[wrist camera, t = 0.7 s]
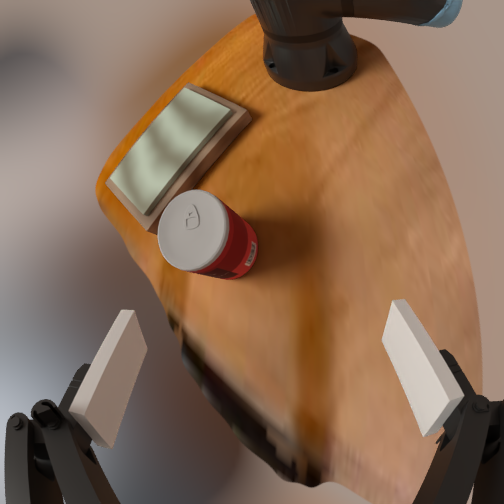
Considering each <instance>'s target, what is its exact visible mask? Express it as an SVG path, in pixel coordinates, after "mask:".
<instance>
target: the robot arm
mask: <svg viewBox="0 0 504 504" xmlns="http://www.w3.org/2000/svg"><path fill="white" fill-rule="evenodd" d="M250 1H251V4H252V6H253V8H254V10H255V13H256V15H257V17H258V20H259V22H260V24H261V27H262V29H263V32H264V45H263V61H264V64H265V67H266V69H267V72H268V74H269V75H270V77H271V78H272V79H273V80H274V81H275V82H277V83H278V84H280V85H282V86H284V87H287V88H290V89H294V90H300V91H318V90H325V89H329V88H332V87H335V86H337V85H339V84H341V83H343V82H345V81H346V80H347V79H349V78H350V77H351V76H352V75H353V73H354V72H355V70H356V67H357V50H356V46H355V44H354V42H353V40H352V38H351V37H350V35H349V33H348V32H347V30H346V28H345V26H344V24H343V21H342V17H355V18H369V19H379V20H387V21H395V22H401V23H407V24H413V25H417V26H431V27H438V28H441V27H445V26H448V25H449V24H451V23H452V22H453V21H454V20H455V18H456V17H457V16H458V14H459V11H460V9H461V6H462V1H463V0H250ZM382 342H383V344H384V347H385V349H386V351H387V353H388V355H389V357H390V360H391V362H392V364H393V366H394V368H395V371H396V373H397V375H398V377H399V380H400V382H401V384H402V387H403V389H404V391H405V394H406V396H407V398H408V401H409V403H410V406H411V408H412V410H413V413H414V415H415V418H416V420H417V423H418V425H419V428H420V431H421V433H422V436H423V437H425V436H428V435H431V434H434V433H437V432H438V431H439V429H440V428H441V427H442V426H443V427H444V429H445V431H444V433H443V434H442V435H441V436H440V437H439V439H438V440H437V441H436V444H438V442H439V441H440V443H439V446H438V448H437V451H436V453H435V456H434V458H433V461H432V463H431V466H430V468H429V470H428V472H427V475H426V477H425V479H424V481H423V483H422V486H421V488H420V490H419V492H418V494H417V496H416V498H415V500H414V502H413V503H412V504H466V503H467V501H468V498H469V495H470V493H471V490H472V487H473V484H474V488H473V496H472V502H471V504H504V400H503V401H493V402H490V401H489V400H488V399H487V398H486V397H484V396H482V395H476V393H475V392H474V390H473V388H472V386H471V385H470V383H469V381H468V379H467V378H466V376H465V374H464V373H463V371H462V369H461V368H460V366H459V365H458V363H457V361H456V360H455V358H454V357H453V355H452V354H450V353H449V352H448V351H447V350H446V349H444V350H440V351H438V349H437V347H436V346H435V344H434V343H433V341H432V339H431V338H430V336H429V335H428V333H427V331H426V330H425V328H424V327H423V325H422V324H421V322H420V321H419V319H418V318H417V316H416V315H415V313H414V312H413V310H412V309H411V307H410V306H409V304H408V303H407V302H406V300H405V299H401V300H392V304H391V308H390V312H389V315H388V319H387V323H386V326H385V330H384V333H383V337H382ZM146 351H147V347H146V344H145V341H144V338H143V335H142V333H141V329H140V326H139V324H138V320H137V317H136V314H135V311H134V310H121V312H120V313H119V315H118V317H117V318H116V320H115V322H114V324H113V325H112V327H111V329H110V331H109V333H108V334H107V336H106V338H105V340H104V342H103V343H102V345H101V347H100V349H99V351H98V353H97V355H96V357H95V358H94V360H93V362H92V364H84V365H82V366H81V367H80V368H79V369H78V370H77V372H76V373H75V375H74V377H73V381H71V383H70V385H69V387H68V389H67V391H66V393H65V395H64V397H63V399H62V401H61V403H60V405H59V407H57V406H56V405H55V403H54V402H53V401H51V400H48V399H44V400H40V401H39V402H37V403H36V404H35V405H34V406H33V408H32V411H31V417H32V418H33V419H34V420H29V419H28V417H27V416H26V415H25V414H23V413H15V414H13V415H12V416H10V418H9V420H8V422H7V427H6V440H5V496H6V504H64V503H63V497H64V500H65V502H66V504H120V502H119V500H118V498H117V497H116V495H115V493H114V491H113V489H112V488H111V486H110V484H109V482H108V480H107V478H106V476H105V474H104V472H103V470H102V468H101V466H100V464H99V462H98V460H97V458H96V455H95V453H94V451H93V449H92V447H91V446H90V444H91V441H92V440H93V441H94V442H95V443H96V444H97V445H98V446H101V447H105V448H110V449H112V448H113V446H114V442H115V439H116V436H117V433H118V430H119V427H120V424H121V421H122V418H123V415H124V412H125V409H126V406H127V403H128V400H129V398H130V395H131V392H132V389H133V386H134V384H135V381H136V378H137V375H138V373H139V370H140V367H141V364H142V362H143V359H144V356H145V354H146ZM62 495H63V496H62Z"/></svg>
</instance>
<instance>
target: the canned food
mask: <svg viewBox="0 0 504 504" xmlns="http://www.w3.org/2000/svg"><path fill="white" fill-rule="evenodd" d="M158 244H159V247H160V250H161V252H162V254H163V256H164V258H165V259H166V260H167V261H168V262H169V263H170V264H171V265H173V266H174V267H176V268H179V269H181V270H184V271H187V272H192V273H197V274H201V275H206V276H211V277H215V278H220V279H226V280H229V279H235V278H238V277H240V276H242V275H244V274H245V273H246V272H248V271H249V270H250V268H251V267H252V266H253V264H254V262H255V260H256V257H257V253H258V241H257V237H256V234H255V232H254V230H253V229H252V227H251V226H250V225H249V224H248V223H247V222H246V221H245V220H243V219H242V218H241V217H240V216H239V215H238V214H236V213H235V212H234V211H233V210H232V209H231V208H229V207H228V206H227V205H226V204H225V203H223V202H222V201H221V200H220V199H218V198H217V197H216V196H214V195H212V194H211V193H209V192H206V191H203V190H190V191H186V192H184V193H181V194H180V195H178V196H177V197H175V198H174V199H173V200H172V201H171V202H170V203H169V204H168V206H167V207H166V208H165V210H164V212H163V214H162V216H161V219H160V221H159V226H158Z"/></svg>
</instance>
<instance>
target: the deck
mask: <svg viewBox="0 0 504 504" xmlns="http://www.w3.org/2000/svg"><path fill="white" fill-rule="evenodd" d="M251 120H252V118H251V116H250V114H249V113H248V111H247V110H246V109H244V108H242V107H240V106H238V105H236V104H234V103H232V102H230V101H228V100H226V99H224V98H222V97H220V96H217V95H215V94H213V93H211V92H209V91H207V90H204V89H202V88H200V87H198V86H195V85H193V84H191V83H187V84H186V85H185V86H184V87H183V88H182V90H181V91H180V92H179V93H178V94H177V95H176V96H175V97H174V98H173V99H172V100H171V101H170V102H169V103H168V105H167V106H166V107H165V108H164V109H163V110H162V111H161V112H160V113H159V115H158V116H157V117H156V118H155V119H154V120H153V122H152V123H151V124H150V125H149V126H148V127H147V129H146V130H145V131H144V132H143V133H142V135H141V136H140V137H139V138H138V140H137V141H136V142H135V143H134V145H133V146H132V147H131V148H130V150H129V151H128V152H127V154H126V155H125V156H124V158H123V159H122V160H121V162H120V163H119V164H118V166H117V167H116V168H115V170H114V171H113V173H112V174H111V175H110V177H109V178H108V180H107V181H106V182H105V184H106V185H107V186H108V187H109V189H110V190H111V191H112V192H113V193H114V194H115V196H116V197H117V198H118V199H119V200H120V201H121V203H122V204H123V205H124V206H125V207H126V208H127V209H128V210H129V212H130V213H131V214H132V215H133V216H134V217H135V218H136V220H137V221H138V222H139V223H140V224H141V225H142V226H143V227H144V228H145V229H146V231H148V232H151V233H153V234H156V235H157V234H158V226H159V221H160V219H161V216H162V214H163V212H164V210H165V208H166V207H167V206H168V204H169V203H170V202H171V201H172V200H173V199H174V198H175V197H177V196H178V195H180V194H181V193H184V192H186V191H190V190H192V189H193V187H194V186H195V185H196V184H197V183H198V181H199V180H200V179H201V178H202V176H203V175H204V174H205V173H206V172H207V170H208V169H209V168H210V167H211V166H212V164H213V163H214V162H215V161H216V160H217V159H218V157H219V156H220V155H221V154H222V153H223V152H224V150H225V149H226V148H227V147H228V146H229V145H230V144H231V142H232V141H233V140H234V139H235V138H236V137H237V136H238V135H239V133H240V132H241V131H242V130H243V129H244V128H245V127H246V126H247V125H248V124H249V122H250V121H251Z"/></svg>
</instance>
